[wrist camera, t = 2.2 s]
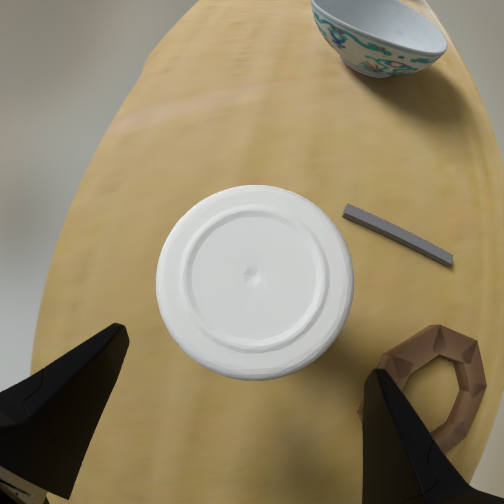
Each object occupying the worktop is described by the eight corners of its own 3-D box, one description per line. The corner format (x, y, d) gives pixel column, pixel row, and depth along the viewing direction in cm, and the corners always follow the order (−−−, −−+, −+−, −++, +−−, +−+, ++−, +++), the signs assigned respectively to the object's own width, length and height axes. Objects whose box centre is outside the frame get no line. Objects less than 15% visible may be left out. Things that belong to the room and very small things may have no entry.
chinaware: (287, 71, 25) (291, 12, 17) (321, 20, 28) (327, -23, 20) (422, 125, 23) (454, 75, 15) (422, 59, 26) (441, 20, 18)
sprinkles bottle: (278, 266, 20) (306, 154, 7) (303, 327, 18) (391, 330, 5) (216, 291, 19) (128, 221, 6) (240, 353, 18) (192, 412, 5)
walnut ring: (439, 464, 14) (448, 469, 13) (337, 448, 16) (342, 456, 14) (487, 349, 17) (497, 349, 15) (397, 311, 18) (406, 310, 17)
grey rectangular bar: (448, 257, 19) (453, 255, 18) (446, 266, 19) (451, 264, 18) (345, 207, 20) (347, 203, 20) (342, 216, 20) (345, 212, 20)
